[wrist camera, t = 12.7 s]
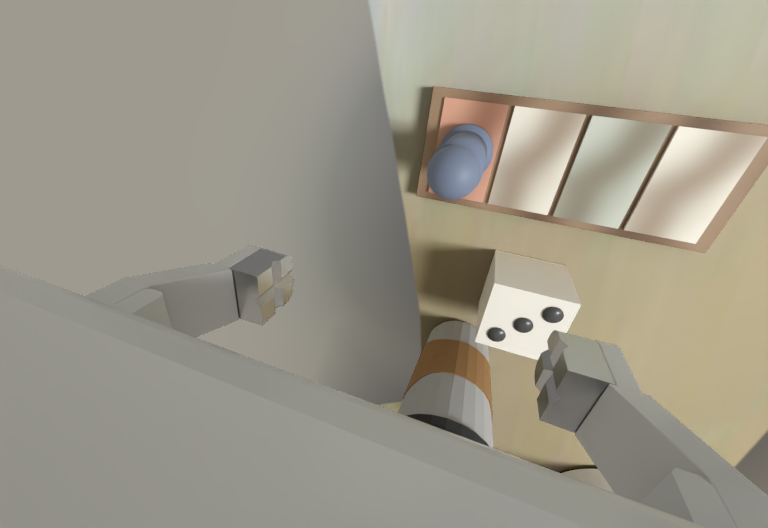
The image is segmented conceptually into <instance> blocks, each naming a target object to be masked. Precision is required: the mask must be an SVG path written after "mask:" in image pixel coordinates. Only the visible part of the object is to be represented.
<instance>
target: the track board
mask: <svg viewBox="0 0 768 528" xmlns="http://www.w3.org/2000/svg"><path fill="white" fill-rule="evenodd" d="M463 124H474V125H478V126H480V127H482V128H483V129H484V130H486V131H487V133H488V134H489V135H490V137H491V140H492V143H493V155H492V160H491V162H490V164H489V166H488V168H487V169H486V170H485V171H484V172H483V174H482V178H481V180H480V182H479V184H478V185H477V186H476V188H475V189H474V190H473V191H472V192H471V193H470V194H469V195H467V196H465V197H463V198H461V199H457V200H447V199H443V198H441V197H439V196H438V195H436V194H435V193H434V192H433V191H432V190H431V188H430V186H429V184H428V181H427V167H428V164H429V162H430V159H431V157H432V155H433V154H434V152H435V151H436V150H437V149H438V148H439V146H440V143H441V141H442V139H443V138H444V137H445V135H446V134H447V133H448V132H449V131H451V130H452V129H453V128H455V127H457V126H459V125H463ZM767 165H768V125H761V124H752V123H743V122H735V121H726V120H718V119H709V118H700V117H692V116H683V115H675V114H666V113H658V112H649V111H640V110H632V109H623V108H615V107H606V106H597V105H589V104H580V103H572V102H563V101H555V100H546V99H537V98H529V97H520V96H512V95H503V94H494V93H486V92H477V91H469V90H460V89H452V88H443V87H433V93H432V99H431V106H430V112H429V119H428V125H427V131H426V138H425V144H424V151H423V157H422V163H421V170H420V176H419V182H418V189H417V195H416V196H419V197H424V198H429V199H434V200H439V201H444V202H449V203H454V204H459V205H464V206H469V207H474V208H479V209H484V210H489V211H494V212H499V213H504V214H509V215H515V216H520V217H525V218H530V219H535V220H540V221H545V222H550V223H555V224H560V225H565V226H570V227H575V228H580V229H585V230H590V231H595V232H600V233H605V234H610V235H615V236H620V237H625V238H631V239H636V240H641V241H646V242H651V243H656V244H661V245H666V246H671V247H676V248H681V249H686V250H691V251H696V252H701V253H706V252H707V250H708V249H709V247H710V246H711V245H712V243H713V242H714V240H715V239H716V238H717V236H718V235H719V233H720V232H721V230H722V229H723V228H724V226H725V225H726V223H727V222H728V221H729V219H730V218H731V216H732V215H733V213H734V212H735V211H736V209H737V208H738V206H739V205H740V204H741V202H742V201H743V199H744V198H745V197H746V195H747V194H748V192H749V191H750V189H751V188H752V187H753V185H754V184H755V182H756V181H757V180H758V178H759V177H760V175H761V174H762V172H763V171H764V170H765V168H766V167H767Z"/></svg>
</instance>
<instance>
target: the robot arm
mask: <svg viewBox="0 0 768 528" xmlns="http://www.w3.org/2000/svg"><path fill="white" fill-rule="evenodd" d="M292 269H293V260H292V258H291V257H290V256H287V255H284V254H280V253H277V252H273V251H270V250H267V249H263V248H260V247H256V246H252V245H247V246H246V247H244V248H242V249H240V250H238V251H237V252H235V253H233V254H231V255H229V256H228V257H226V258H224V259H222V260H220V261H219V262H217V263H215V264H211V263H208V264H201V265H196V266H190V267H184V268H178V269H172V270H167V271H162V272H155V273H149V274H143V275H138V276H132V277H127V278H123V279H120V280H118V281H116V282H114V283H112V284H110V285H108V286H105V287H103V288H101V289H99V290H97V291H95V292H93V293H90V294H88V295H86V296H83V295H80V294H77V293H75V292H72V291H69V290H66V289H64V288H61V287H58V286H56V285H53V284H50V283H47V282H45V281H42V280H40V279H37V278H34V277H32V276H29V275H26V274H24V273H21V272H18V271H15V270H13V269H10V268H7V267H5V266H2V265H0V528H768V496H767V495H766V494H765V493H763V492H762V491H761V490H760V489H759V488H757V487H756V486H755V485H754V484H753V483H751V481H749V480H748V479H747V478H746V477H745V476H743V475H742V474H741V473H740V472H739V471H738V470H736V469H735V468H734V467H733V466H732V465H731V464H729V463H728V462H727V461H726V460H725V459H723V458H722V457H721V456H720V455H719V454H718V453H716V452H715V451H714V450H713V449H712V448H711V447H709V446H708V445H707V444H706V443H705V442H703V441H702V440H701V439H700V438H699V437H698V436H696V435H695V434H694V433H693V432H692V431H691V430H689V429H688V428H687V427H686V426H685V425H683V424H682V423H681V422H680V421H679V420H678V419H676V418H675V417H674V416H673V415H672V414H671V413H669V412H668V411H667V410H666V409H665V408H663V407H662V406H661V405H660V404H659V403H658V402H656V401H655V400H654V399H653V398H652V397H651V396H649V395H646V394H643V393H642V392H641V390H640V388H639V386H638V384H637V382H636V380H635V378H634V376H633V374H632V372H631V369H630V367H629V365H628V363H627V361H626V359H625V357H624V355H623V353H622V351H621V349H620V348H619V347H618V346H616V345H613V344H609V343H605V342H600V341H596V340H591V339H588V338H584V337H580V336H576V335H572V334H568V333H564V332H560V331H556V330H554V331H553V332H552V333H551V334H550V336H549V338H548V340H547V343H548V350H546V351H544V352H542V353H541V354H540V357H539V359H538V361H537V365H536V369H535V386H536V387H537V388H538V390H539V391H540V394H539V396H538V398H537V403H538V411H539V419H540V420H541V421H544V422H546V423H549V424H552V425H555V426H557V427H560V428H563V429H565V430H568V431H571V432H574V433H575V436H576V437H577V439H578V440H579V441H580V443H581V444H582V446H583V447H584V449H585V450H586V452H587V453H588V455H589V456H590V458H591V459H592V461H593V462H594V464H595V465H596V466H597V468H598V469H577V470H571V471H567V472H563V473H558V472H556V471H553V470H550V469H548V468H545V467H542V466H540V465H537V464H534V463H532V462H529V461H526V460H524V459H521V458H518V457H515V456H513V455H510V454H507V453H505V452H502V451H499V450H497V449H494V448H491V447H489V446H486V445H483V444H481V443H478V442H475V441H472V440H470V439H467V438H464V437H462V436H459V435H456V434H454V433H451V432H448V431H446V430H443V429H440V428H438V427H435V426H432V425H429V424H427V423H424V422H421V421H419V420H416V419H413V418H411V417H408V416H405V415H403V414H400V413H397V412H395V411H392V410H389V409H387V408H384V407H381V406H378V405H376V404H373V403H370V402H368V401H365V400H362V399H360V398H357V397H354V396H351V395H349V394H346V393H344V392H341V391H338V390H335V389H333V388H330V387H328V386H325V385H322V384H319V383H317V382H314V381H311V380H309V379H306V378H303V377H301V376H298V375H295V374H293V373H290V372H287V371H284V370H282V369H279V368H276V367H274V366H271V365H268V364H265V363H263V362H260V361H257V360H255V359H252V358H249V357H246V356H244V355H241V354H238V353H236V352H233V351H230V350H227V349H225V348H222V347H219V346H217V345H214V344H211V343H209V342H206V341H203V340H201V339H198V338H196V337H198V336H200V335H203V334H205V333H208V332H210V331H212V330H215V329H217V328H220V327H222V326H225V325H227V324H230V323H232V322H234V321H237V320H239V318H240V319H243V320H246V321H250V322H253V323H256V324H259V325H263V324H264V323H265V322H267V321H268V320H269V319H270V318H271V317H272V316H273V315H274V314H275V308H278V307H281V306H284V305H285V304H286V303H287V302H288V301H289V299H290V297H291V295H292V293H293V289H294V279H293V278H292V276H291V275H290V272H291V271H292Z"/></svg>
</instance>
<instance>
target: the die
mask: <svg viewBox="0 0 768 528" xmlns="http://www.w3.org/2000/svg"><path fill="white" fill-rule="evenodd" d="M580 306H581V303H580V300H579V297H578V295H577V292H576V289H575V287H574V284H573V281H572V279H571V276H570V274H569V271H568V268H567V266H566V265H561V264H557V263H552V262H548V261H544V260H539V259H535V258H530V257H526V256H521V255H517V254H512V253H508V252H503V251H499V250H495V253H494V256H493V260H492V263H491V266H490V269H489V272H488V275H487V278H486V282H485V285H484V288H483V291H482V294H481V297H480V300H479V306H478V316H477V325H476V335H475V342H477V343H481V344H484V345H488V346H491V347H494V348H498V349H501V350H505V351H508V352H512V353H515V354H518V355H522V356H525V357H529V358H532V359H535V360H538V359H539V357H540V354H541V353H542V352H544V351H546V350H548V343H547V340H548V338H549V336H550V334H551V333H552V332H553V331H554V330H556V331H560V332H564V333H567V331H568V329H569V327H570V325H571V323H572V321H573V320H574V318H575V316H576V314H577V312H578V310H579V308H580Z"/></svg>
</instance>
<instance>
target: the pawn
mask: <svg viewBox="0 0 768 528" xmlns="http://www.w3.org/2000/svg"><path fill="white" fill-rule="evenodd" d="M492 155H493V143H492V140H491V137H490V135H489V134H488V133H487V131H486V130H484V129H483V128H482V127H480V126H478V125H474V124H463V125H459V126H457V127H455V128H453V129H452V130H451V131H449V132H448V133H447V134H446V135H445V137H444V138H443V139H442V141H441V143H440V146H439V148H438V149H437V150H436V151H435V152H434V154H433V155H432V157H431V159H430V162H429V164H428V167H427V181H428V184H429V186H430V188H431V190H432V191H433V192H434V193H435V194H436V195H438V196H439V197H441V198H443V199H447V200H457V199H461V198H463V197H465V196H467V195H469V194H470V193H471V192H472V191H473V190H474V189H475V188H476V186H477V185H478V184H479V182H480V180H481V178H482V174H483V172H484V171H485V170H486V169H487V168H488V166H489V164H490V162H491V160H492Z"/></svg>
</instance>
